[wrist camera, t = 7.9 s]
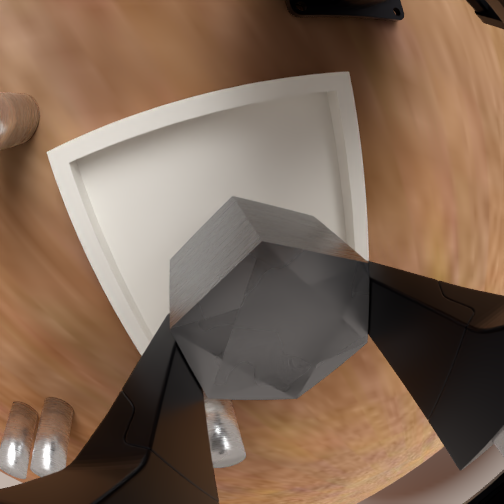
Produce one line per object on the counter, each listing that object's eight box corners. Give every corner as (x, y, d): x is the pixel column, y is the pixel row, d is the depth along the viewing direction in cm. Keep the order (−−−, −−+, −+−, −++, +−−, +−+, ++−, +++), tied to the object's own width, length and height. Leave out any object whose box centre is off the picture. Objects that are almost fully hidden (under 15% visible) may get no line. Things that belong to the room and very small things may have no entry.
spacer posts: (114, 46, 9) (69, 0, 4) (229, 383, 19) (250, 460, 13) (-109, 204, 7) (-162, 242, 2) (25, 419, 17) (12, 477, 11)
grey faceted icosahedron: (307, 175, 10) (367, 209, 6) (324, 311, 12) (365, 370, 9) (154, 220, 9) (145, 277, 6) (208, 350, 12) (222, 421, 9)
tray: (332, 74, 12) (349, 71, 11) (356, 294, 18) (368, 308, 17) (59, 147, 11) (46, 152, 9) (156, 359, 16) (156, 378, 15)
